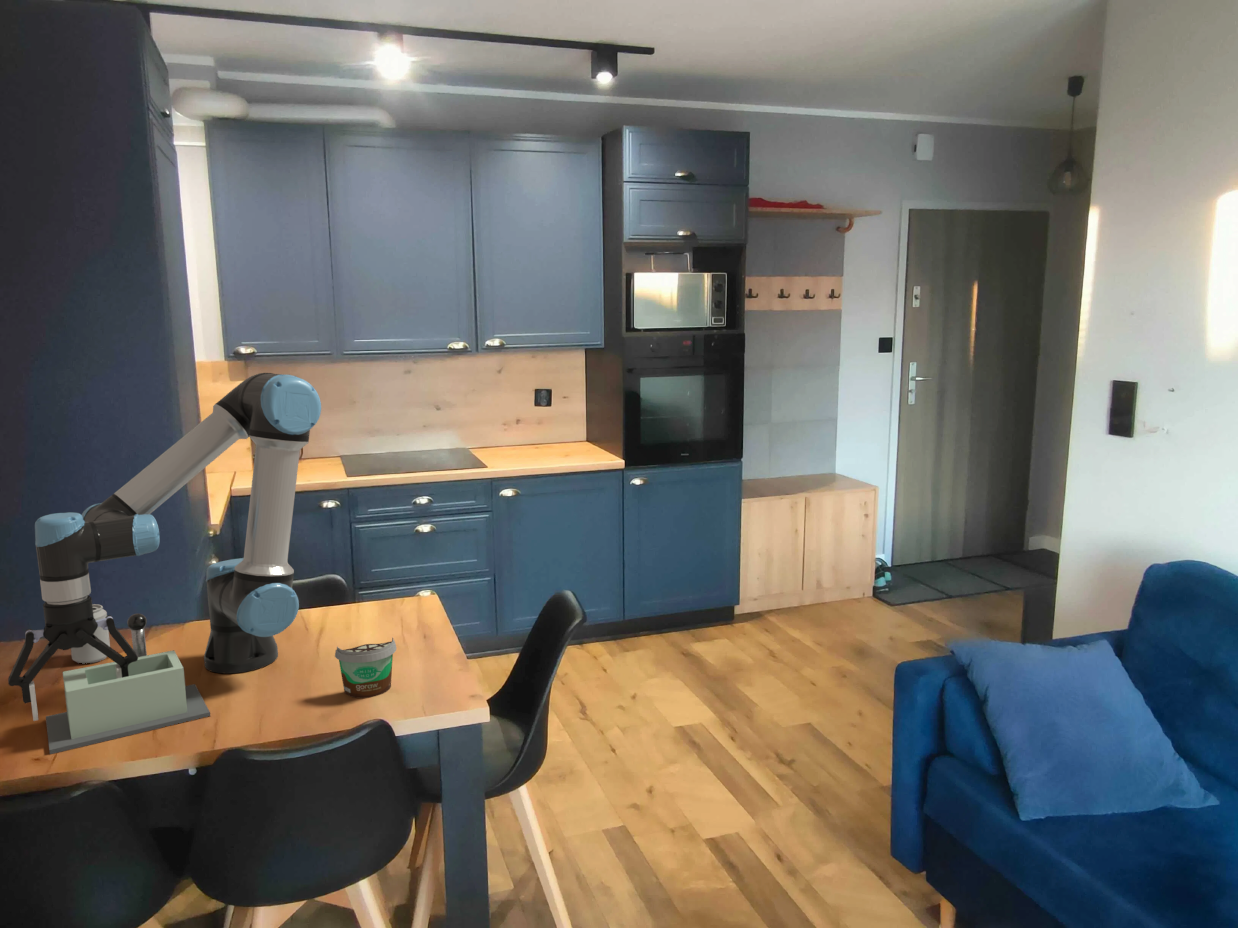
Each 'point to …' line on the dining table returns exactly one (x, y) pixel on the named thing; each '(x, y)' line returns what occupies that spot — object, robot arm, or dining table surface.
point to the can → (87, 651)
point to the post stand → (138, 633)
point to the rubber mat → (62, 737)
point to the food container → (366, 669)
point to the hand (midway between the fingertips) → (79, 708)
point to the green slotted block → (124, 694)
